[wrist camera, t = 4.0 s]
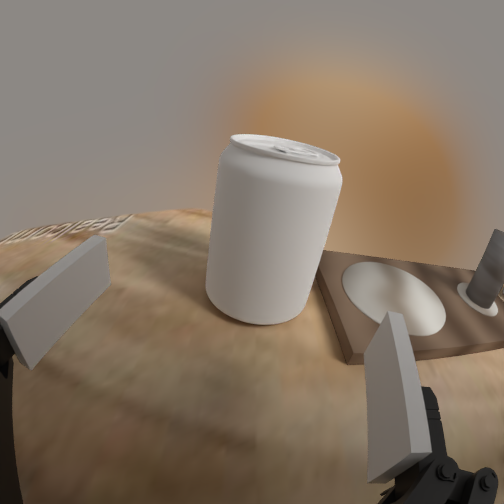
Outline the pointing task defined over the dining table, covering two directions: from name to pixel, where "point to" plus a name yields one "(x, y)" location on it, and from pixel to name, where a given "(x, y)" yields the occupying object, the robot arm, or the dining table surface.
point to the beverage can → (269, 226)
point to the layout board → (416, 302)
